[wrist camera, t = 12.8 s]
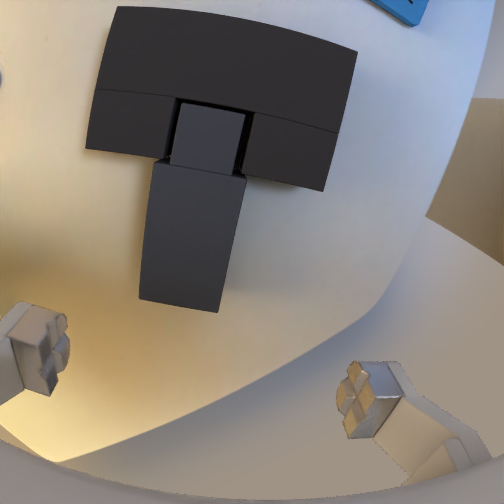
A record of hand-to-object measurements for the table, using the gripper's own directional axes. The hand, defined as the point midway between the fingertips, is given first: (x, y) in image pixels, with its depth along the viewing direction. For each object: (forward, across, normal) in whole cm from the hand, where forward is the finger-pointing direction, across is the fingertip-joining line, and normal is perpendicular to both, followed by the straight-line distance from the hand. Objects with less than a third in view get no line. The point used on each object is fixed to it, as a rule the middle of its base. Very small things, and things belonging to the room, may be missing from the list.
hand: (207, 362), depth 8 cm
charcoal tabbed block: (+17, +2, 0) cm, 17 cm away
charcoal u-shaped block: (+17, +2, -8) cm, 19 cm away
